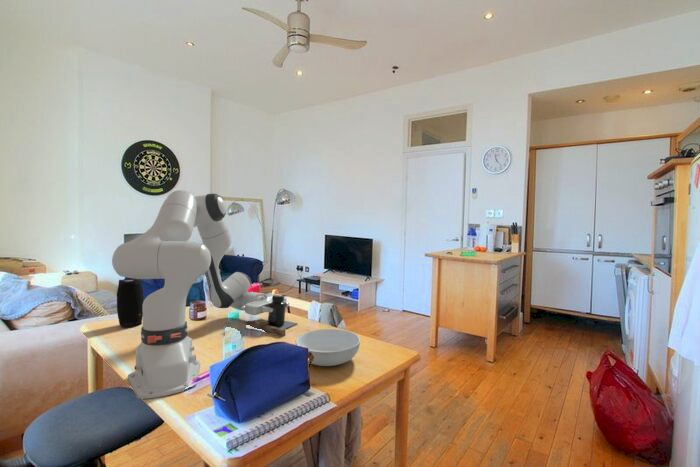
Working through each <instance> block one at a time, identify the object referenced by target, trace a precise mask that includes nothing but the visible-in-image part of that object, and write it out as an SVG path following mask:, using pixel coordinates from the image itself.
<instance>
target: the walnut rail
mask: <svg viewBox="0 0 700 467" xmlns="http://www.w3.org/2000/svg"><path fill="white" fill-rule="evenodd" d="M265 324H266V323H264V324H263V323H259V322H257V321H256V322H255V321H251V320H247V321H245V326H246V325H250V326H252V327H254V328H257V329H262V330H264V331H265V332H266V334H271V335H274V336H278V337H283V338H284V337H285V336H286V330H285V329H282V328H278V327H273V326H269V325H265ZM265 332H264V333H265Z"/></svg>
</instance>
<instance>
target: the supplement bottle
mask: <svg viewBox="0 0 700 467" xmlns="http://www.w3.org/2000/svg"><path fill="white" fill-rule="evenodd" d="M284 297H285V295H280V294H276V295H274V296H273V297H272V300H273V301H272V302H271V303H270V304H269V307H273V308H274V312H268V318H267V323H268V324H269V325H271V326H282V325H284V321H286V319H285V317H286V309H287V307H286V304H285V303H284V302H283V301H284Z"/></svg>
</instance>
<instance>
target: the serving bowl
mask: <svg viewBox="0 0 700 467" xmlns="http://www.w3.org/2000/svg"><path fill="white" fill-rule="evenodd" d="M360 344H361V339H360V336H359V335H357V334H356V333H354V332H352V331H348V330H345V329H338V328H337V329H336V328H325V329H315V330H311V331H308V332H305V333H303V334H300V336H299V335H298V337H297V338H296V340H295V346H296V345H297V346H302V347H307V348H308V349H309V352H311V353H313V356H314V359H313V361H312V363H310V364H312V365H315V366H320V367H332V366H338V365H342V364H345V363H347V362H349V361H351V360H352V359H353V358H354V357H355V356H356V354H357V353H358V352H359V349H360Z"/></svg>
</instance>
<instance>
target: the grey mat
mask: <svg viewBox="0 0 700 467" xmlns="http://www.w3.org/2000/svg"><path fill="white" fill-rule="evenodd" d="M264 324H265V325H269V324H268V322H267V323H264ZM269 326H271V325H269ZM295 326H298V323H297V322H294V321H290V320H284V325H282V326H273V327H278V328H282V329H285V331H286V330H288V329H290V328H293V327H295Z"/></svg>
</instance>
